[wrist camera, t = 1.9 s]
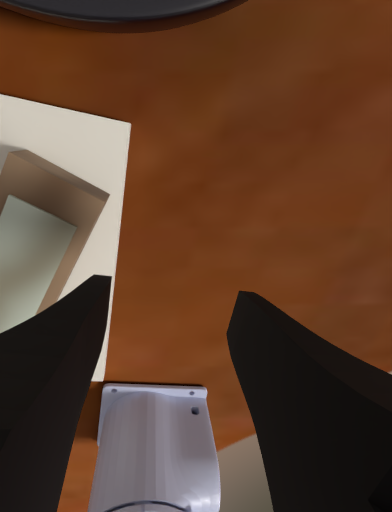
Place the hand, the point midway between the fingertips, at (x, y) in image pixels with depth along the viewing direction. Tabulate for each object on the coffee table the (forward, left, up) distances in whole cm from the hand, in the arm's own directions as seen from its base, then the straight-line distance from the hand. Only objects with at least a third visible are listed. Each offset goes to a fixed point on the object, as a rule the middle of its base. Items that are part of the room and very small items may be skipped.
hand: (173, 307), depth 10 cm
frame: (+9, +5, -9) cm, 13 cm away
